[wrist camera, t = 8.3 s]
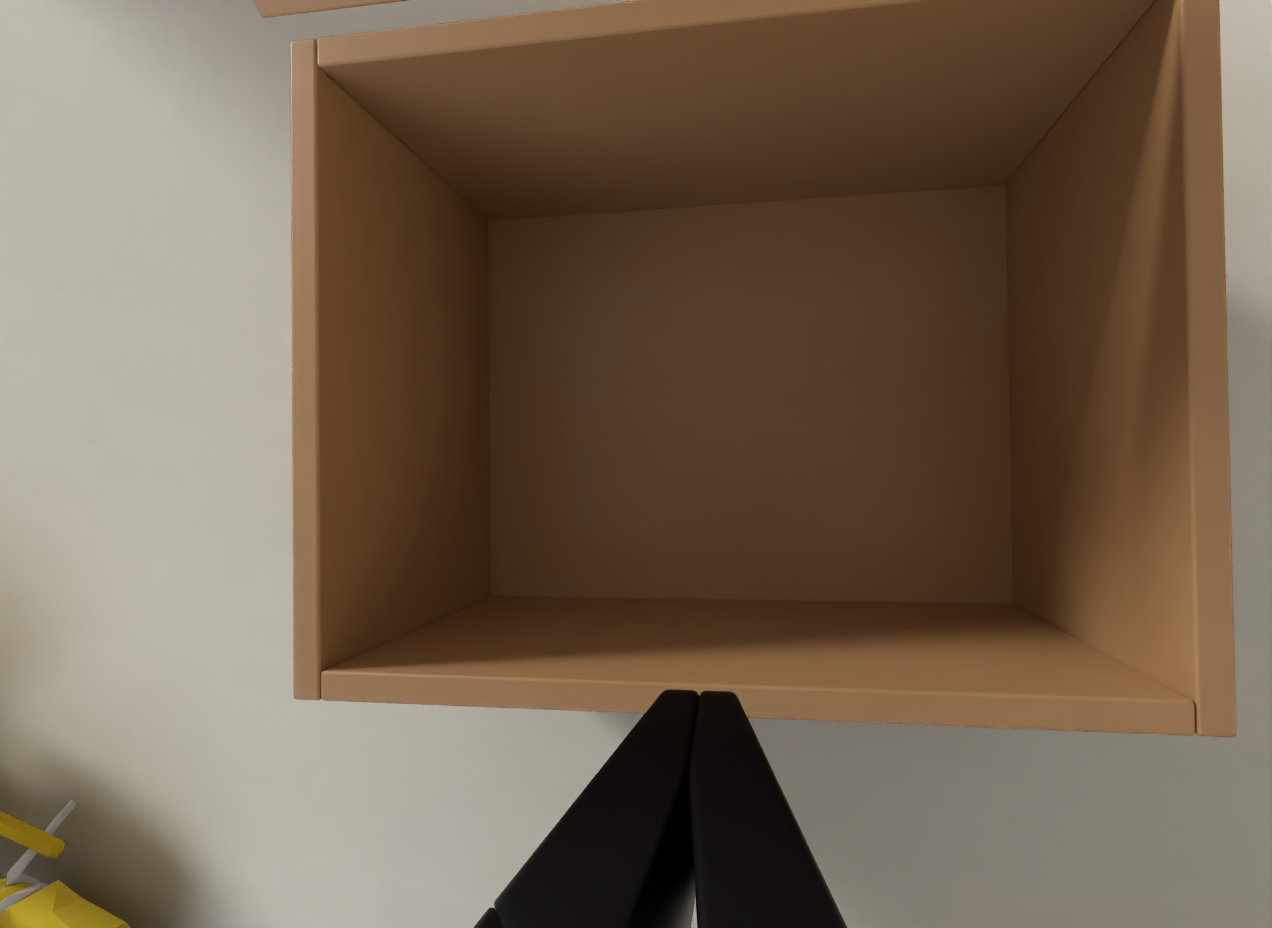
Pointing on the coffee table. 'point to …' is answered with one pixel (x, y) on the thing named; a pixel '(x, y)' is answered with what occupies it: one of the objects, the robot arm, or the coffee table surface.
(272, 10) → the carton flap
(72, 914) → the sprinkler
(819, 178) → the carton
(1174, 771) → the coffee table surface
